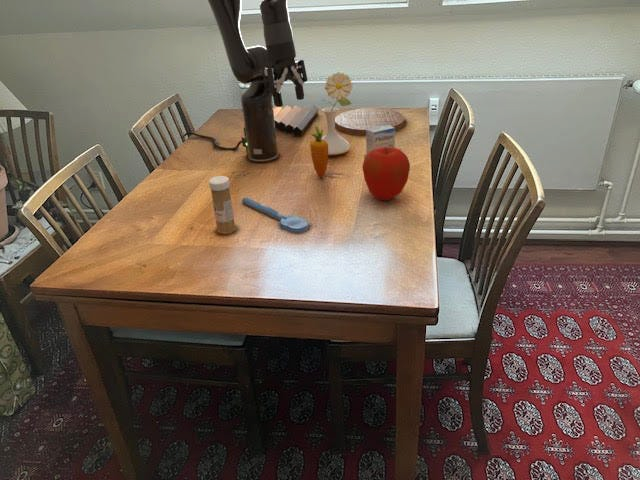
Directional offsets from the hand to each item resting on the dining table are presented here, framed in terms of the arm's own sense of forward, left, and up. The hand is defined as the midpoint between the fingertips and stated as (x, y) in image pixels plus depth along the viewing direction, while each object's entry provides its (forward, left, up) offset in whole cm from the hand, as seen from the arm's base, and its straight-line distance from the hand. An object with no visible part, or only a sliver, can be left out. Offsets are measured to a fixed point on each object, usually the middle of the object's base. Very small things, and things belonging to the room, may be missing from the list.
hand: (290, 103), depth 146 cm
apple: (+32, +3, -21) cm, 38 cm away
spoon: (+17, -23, -20) cm, 35 cm away
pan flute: (-38, +26, -21) cm, 50 cm away
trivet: (-11, +46, -21) cm, 52 cm away
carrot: (+10, +1, -21) cm, 23 cm away
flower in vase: (-1, +18, -21) cm, 27 cm away
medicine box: (+12, +25, -21) cm, 34 cm away
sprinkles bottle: (+14, -35, -21) cm, 43 cm away
